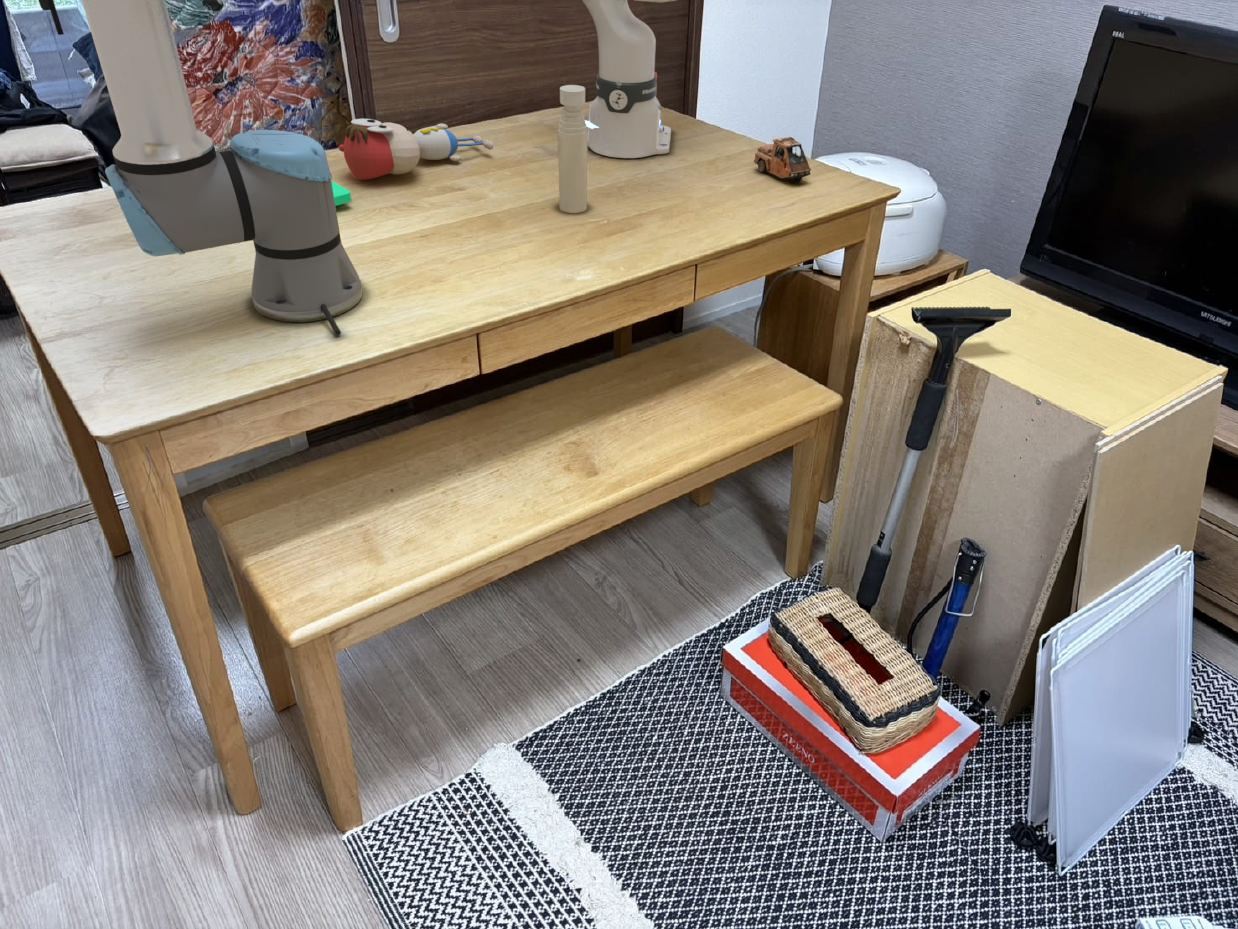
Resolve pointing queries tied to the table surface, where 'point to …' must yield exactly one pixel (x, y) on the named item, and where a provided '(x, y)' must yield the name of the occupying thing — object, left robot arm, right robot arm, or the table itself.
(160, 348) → the table surface
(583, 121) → the bottle
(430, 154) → the toy
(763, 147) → the toy car
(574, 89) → the cap
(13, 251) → the table surface
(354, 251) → the table surface
